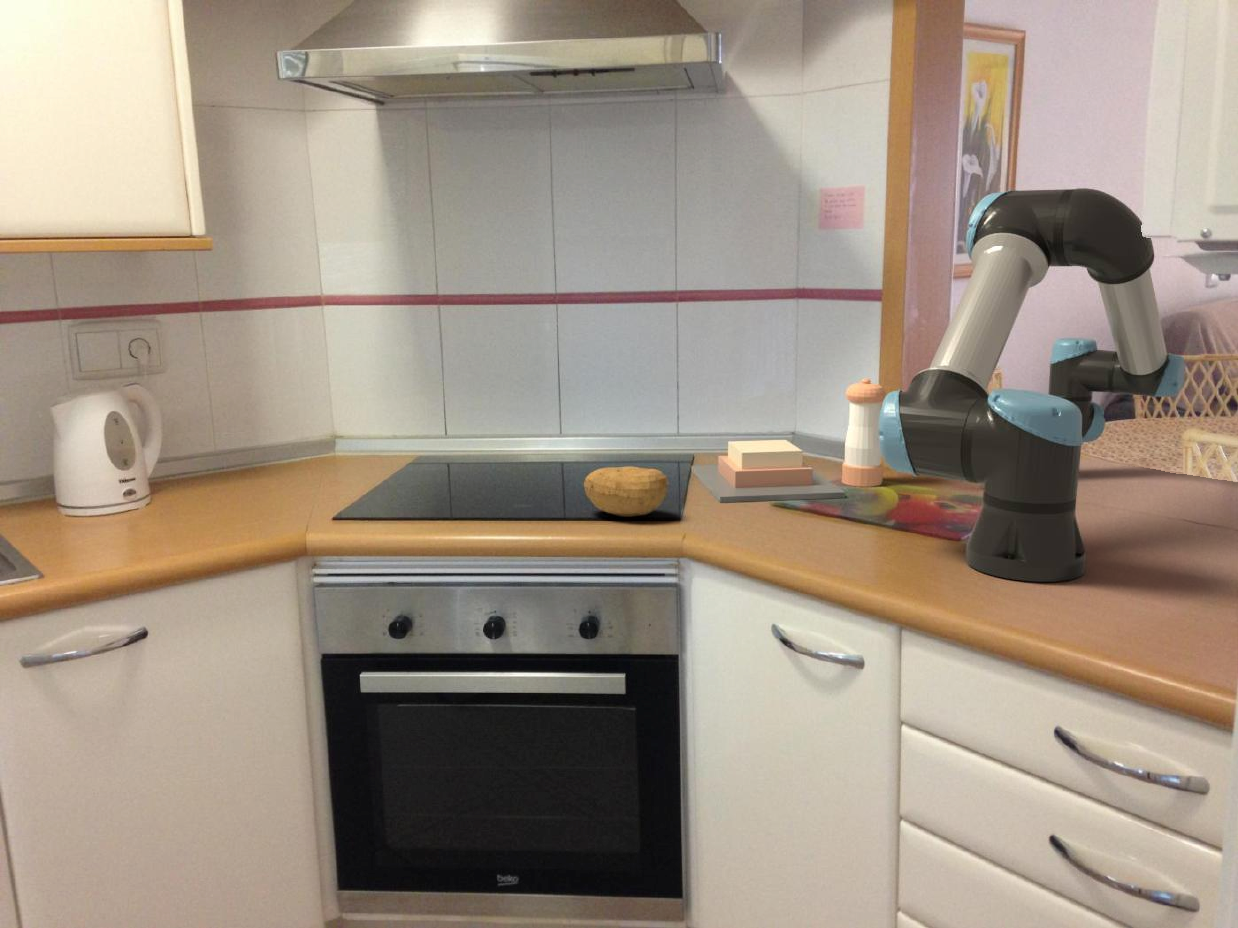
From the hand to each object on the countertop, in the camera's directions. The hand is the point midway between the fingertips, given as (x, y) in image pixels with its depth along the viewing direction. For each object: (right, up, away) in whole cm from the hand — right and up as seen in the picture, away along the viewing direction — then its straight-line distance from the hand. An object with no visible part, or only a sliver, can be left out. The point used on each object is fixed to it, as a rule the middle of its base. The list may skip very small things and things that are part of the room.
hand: (907, 427), depth 190 cm
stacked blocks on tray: (-26, -10, +1) cm, 28 cm away
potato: (-52, -15, -21) cm, 58 cm away
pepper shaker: (-8, -10, +1) cm, 13 cm away
